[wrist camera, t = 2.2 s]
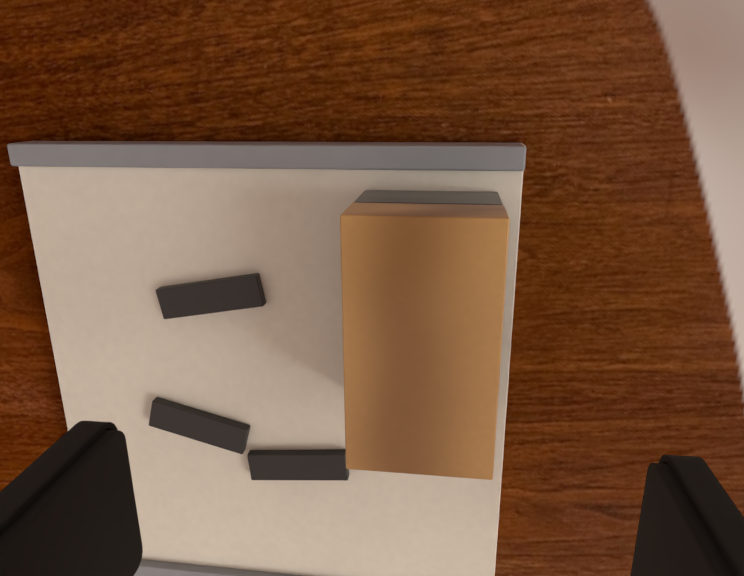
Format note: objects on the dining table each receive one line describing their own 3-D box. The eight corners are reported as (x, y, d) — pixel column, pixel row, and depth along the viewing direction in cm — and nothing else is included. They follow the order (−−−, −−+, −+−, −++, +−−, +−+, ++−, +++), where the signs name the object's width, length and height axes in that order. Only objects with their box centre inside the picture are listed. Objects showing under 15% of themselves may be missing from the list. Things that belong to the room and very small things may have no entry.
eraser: (498, 191, 20) (510, 218, 15) (486, 406, 22) (493, 480, 18) (364, 189, 20) (339, 215, 16) (366, 399, 23) (345, 469, 19)
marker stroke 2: (251, 424, 24) (247, 430, 23) (245, 449, 24) (242, 455, 24) (156, 396, 24) (151, 400, 24) (152, 420, 24) (148, 426, 24)
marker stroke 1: (259, 272, 22) (256, 275, 21) (266, 303, 22) (263, 306, 22) (159, 286, 22) (154, 289, 22) (168, 316, 23) (163, 319, 22)
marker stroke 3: (346, 448, 24) (344, 454, 23) (349, 474, 24) (348, 480, 24) (249, 449, 24) (246, 455, 24) (254, 474, 25) (251, 480, 24)
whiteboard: (522, 142, 20) (526, 145, 19) (491, 590, 26) (493, 617, 25) (32, 140, 22) (5, 143, 21) (105, 552, 28) (87, 574, 27)
